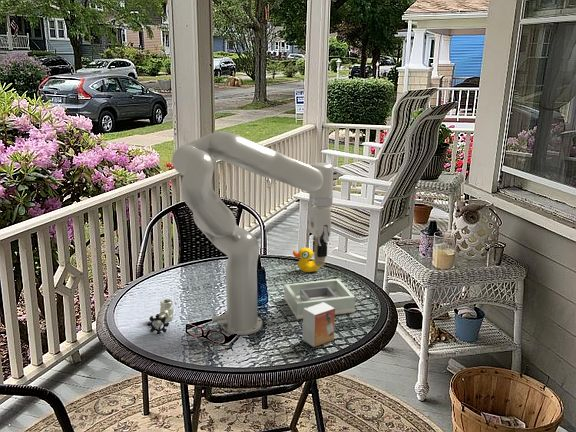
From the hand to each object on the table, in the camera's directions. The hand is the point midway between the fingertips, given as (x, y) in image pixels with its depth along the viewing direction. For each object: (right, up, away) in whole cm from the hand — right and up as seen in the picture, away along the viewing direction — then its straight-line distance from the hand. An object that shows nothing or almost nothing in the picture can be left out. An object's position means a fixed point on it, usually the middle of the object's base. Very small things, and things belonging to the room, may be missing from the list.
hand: (319, 253), depth 177 cm
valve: (-50, -22, -9) cm, 55 cm away
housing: (0, -18, +5) cm, 19 cm away
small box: (-1, -25, -18) cm, 31 cm away
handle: (0, -4, +1) cm, 4 cm away
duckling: (-3, -10, +35) cm, 36 cm away
